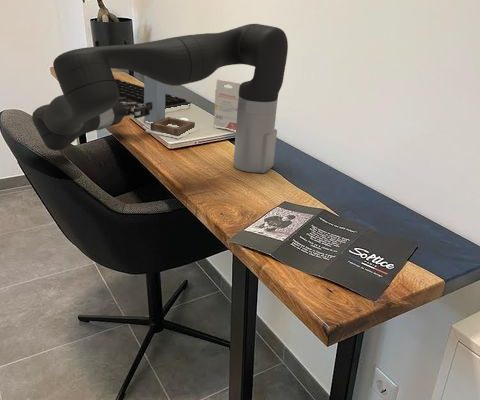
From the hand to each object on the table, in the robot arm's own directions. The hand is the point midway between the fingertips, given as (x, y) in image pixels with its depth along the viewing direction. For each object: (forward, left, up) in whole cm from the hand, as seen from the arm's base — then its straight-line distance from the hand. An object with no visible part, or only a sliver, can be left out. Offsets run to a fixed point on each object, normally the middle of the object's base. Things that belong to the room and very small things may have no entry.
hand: (138, 103), depth 140 cm
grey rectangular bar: (0, -8, -7) cm, 11 cm away
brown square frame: (-9, -4, -7) cm, 12 cm away
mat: (-9, -4, -7) cm, 12 cm away
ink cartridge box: (-21, -17, -8) cm, 28 cm away
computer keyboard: (+24, -29, -8) cm, 39 cm away
